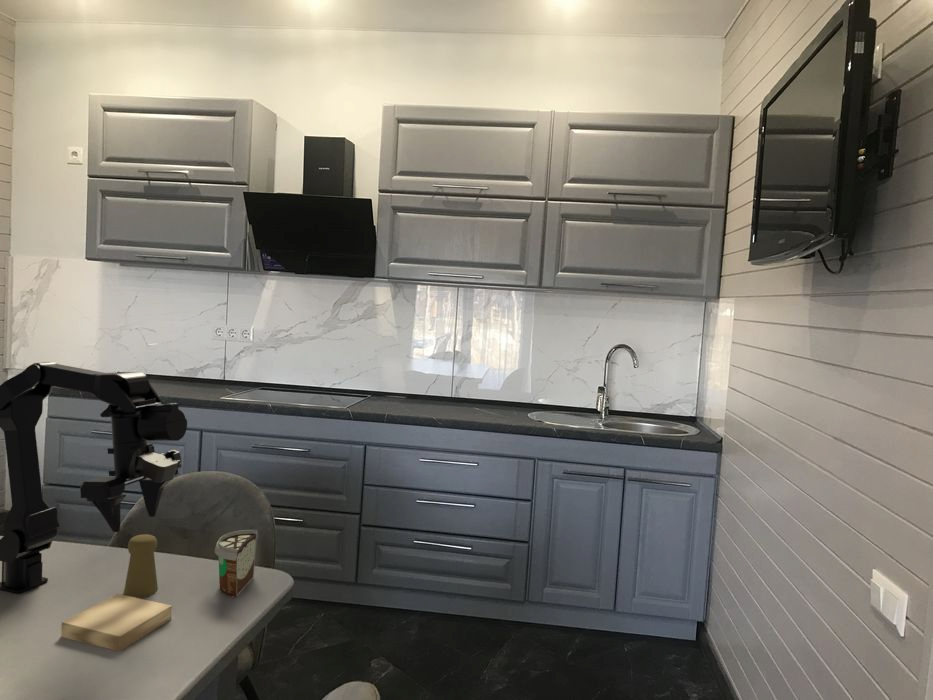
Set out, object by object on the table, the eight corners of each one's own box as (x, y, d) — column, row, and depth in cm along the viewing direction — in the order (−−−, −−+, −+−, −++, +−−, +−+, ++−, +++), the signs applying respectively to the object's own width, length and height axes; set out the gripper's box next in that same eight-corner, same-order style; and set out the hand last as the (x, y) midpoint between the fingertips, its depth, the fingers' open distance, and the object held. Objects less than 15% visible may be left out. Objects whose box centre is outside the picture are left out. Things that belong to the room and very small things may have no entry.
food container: (227, 572, 140) (229, 527, 139) (256, 574, 139) (258, 529, 139) (202, 597, 127) (204, 547, 127) (233, 600, 127) (235, 550, 126)
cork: (143, 599, 125) (146, 543, 124) (116, 595, 126) (118, 539, 125) (164, 587, 131) (166, 533, 130) (138, 582, 132) (140, 529, 131)
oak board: (61, 636, 110) (61, 622, 110) (117, 606, 121) (117, 593, 121) (119, 651, 107) (119, 636, 107) (171, 619, 118) (171, 605, 118)
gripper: (130, 450, 109) (136, 542, 110) (199, 432, 128) (204, 510, 128) (75, 450, 112) (80, 540, 113) (150, 432, 130) (155, 509, 131)
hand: (134, 523), depth 121 cm, fingers open, 9 cm apart
